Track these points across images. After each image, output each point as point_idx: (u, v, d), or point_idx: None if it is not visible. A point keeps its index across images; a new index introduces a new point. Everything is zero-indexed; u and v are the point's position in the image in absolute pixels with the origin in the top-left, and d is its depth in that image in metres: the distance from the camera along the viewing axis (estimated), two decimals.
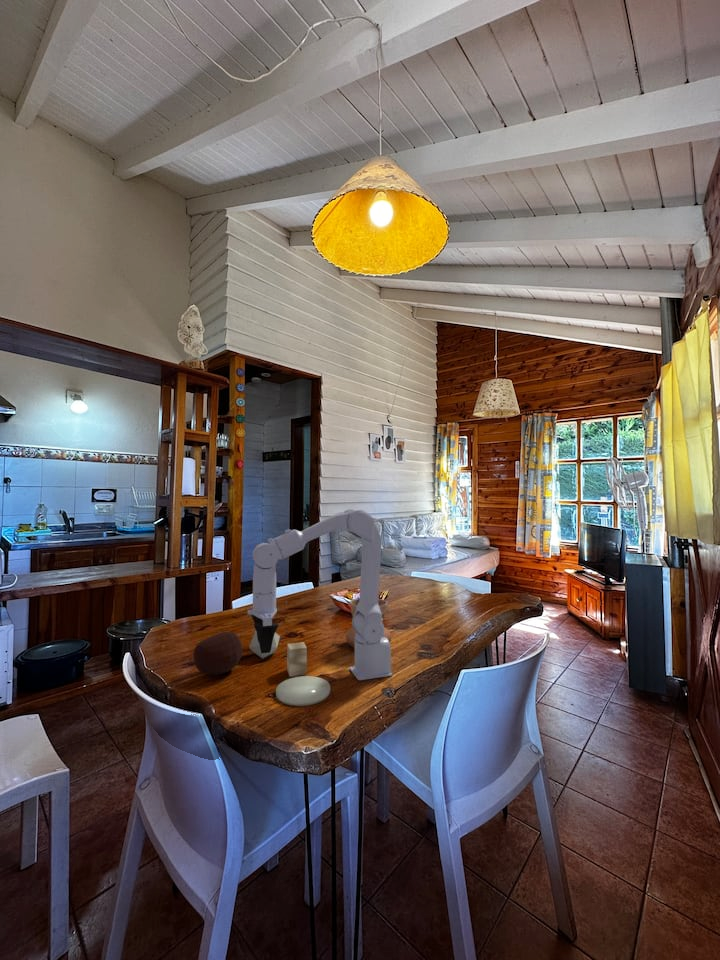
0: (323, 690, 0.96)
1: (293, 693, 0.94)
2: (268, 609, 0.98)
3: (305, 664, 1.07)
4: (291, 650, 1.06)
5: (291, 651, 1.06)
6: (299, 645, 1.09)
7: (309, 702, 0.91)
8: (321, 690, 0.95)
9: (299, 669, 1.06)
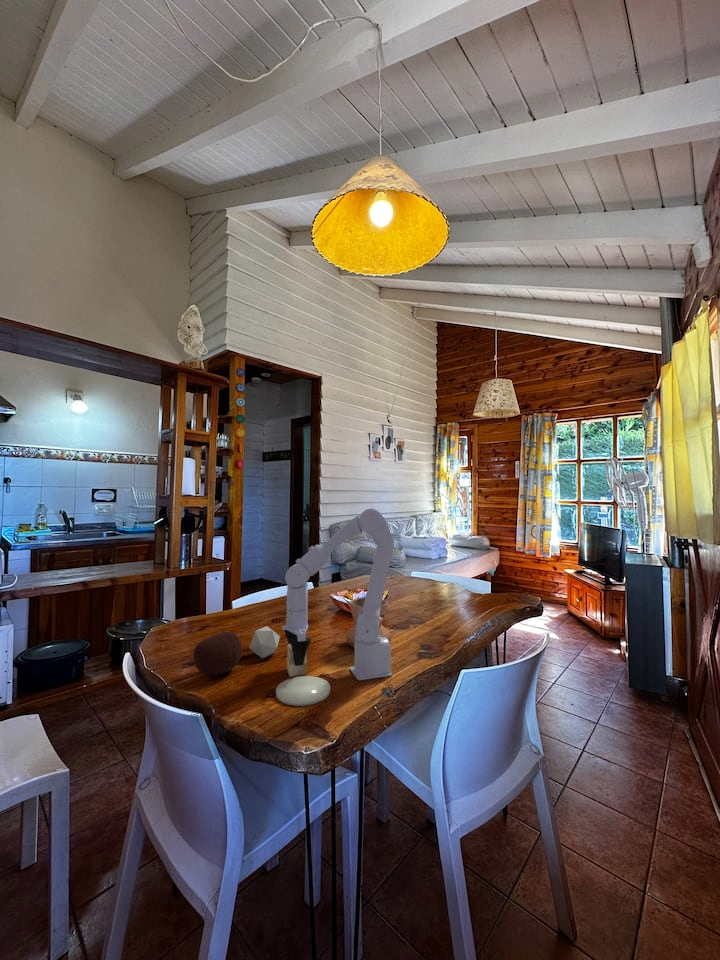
0: (323, 690, 0.96)
1: (293, 693, 0.94)
2: (301, 625, 1.07)
3: (305, 664, 1.07)
4: (291, 650, 1.06)
5: (291, 651, 1.06)
6: None
7: (309, 702, 0.91)
8: (321, 690, 0.95)
9: (299, 669, 1.06)
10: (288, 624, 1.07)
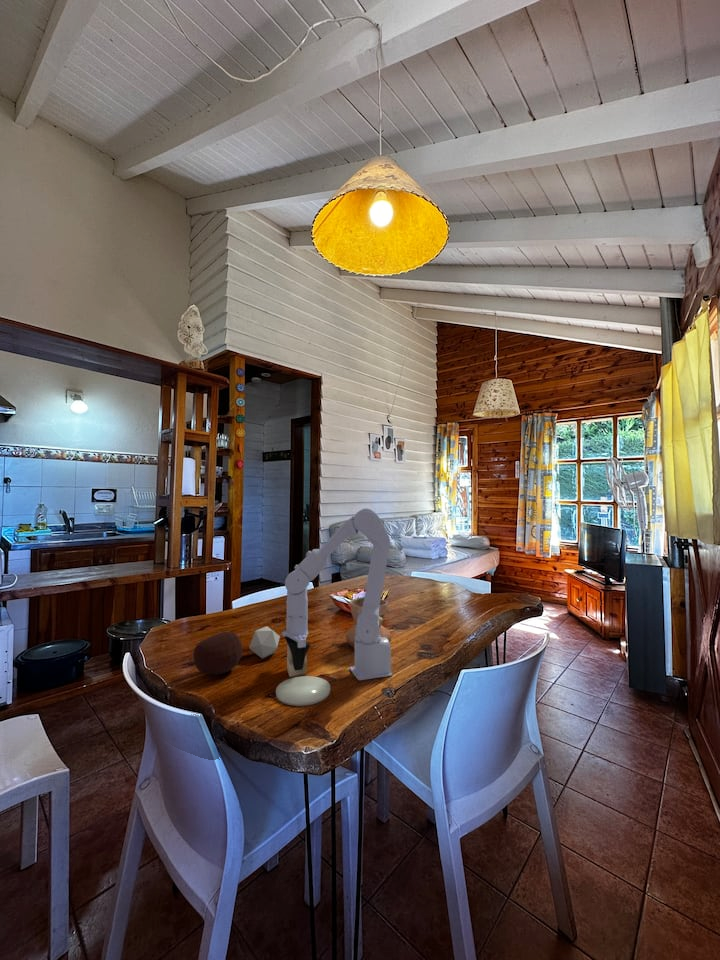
0: (323, 690, 0.96)
1: (293, 693, 0.94)
2: (301, 631, 1.06)
3: (305, 664, 1.07)
4: None
5: None
6: None
7: (309, 702, 0.91)
8: (321, 690, 0.95)
9: None
10: (288, 630, 1.07)
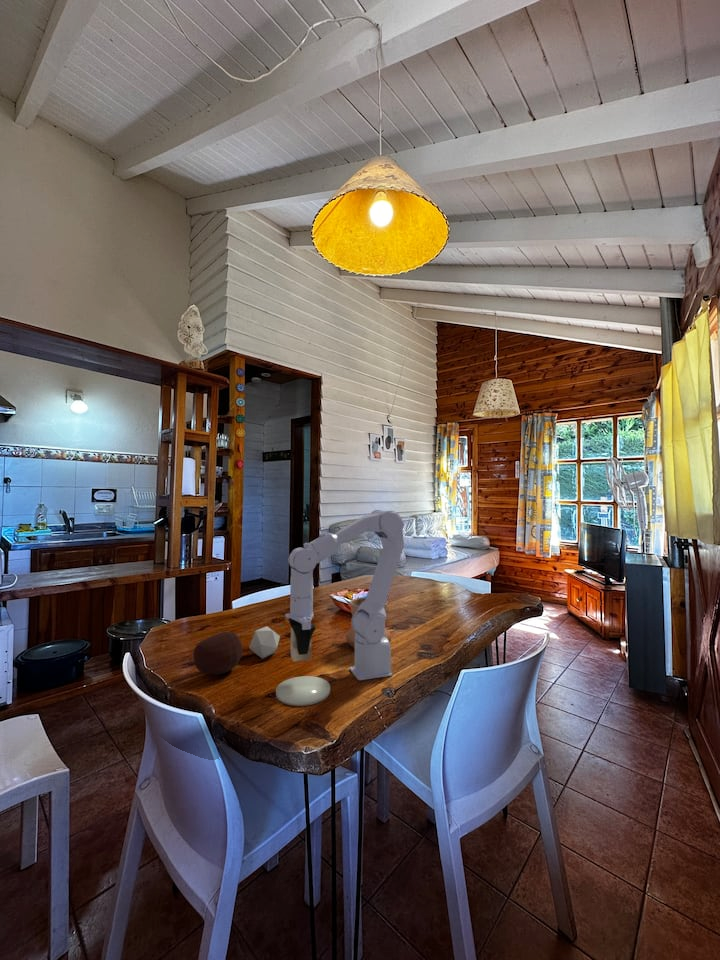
0: (323, 690, 0.96)
1: (293, 693, 0.94)
2: (306, 613, 0.99)
3: (310, 648, 0.99)
4: None
5: None
6: None
7: (309, 702, 0.91)
8: (321, 690, 0.95)
9: (303, 654, 0.99)
10: (292, 612, 0.99)
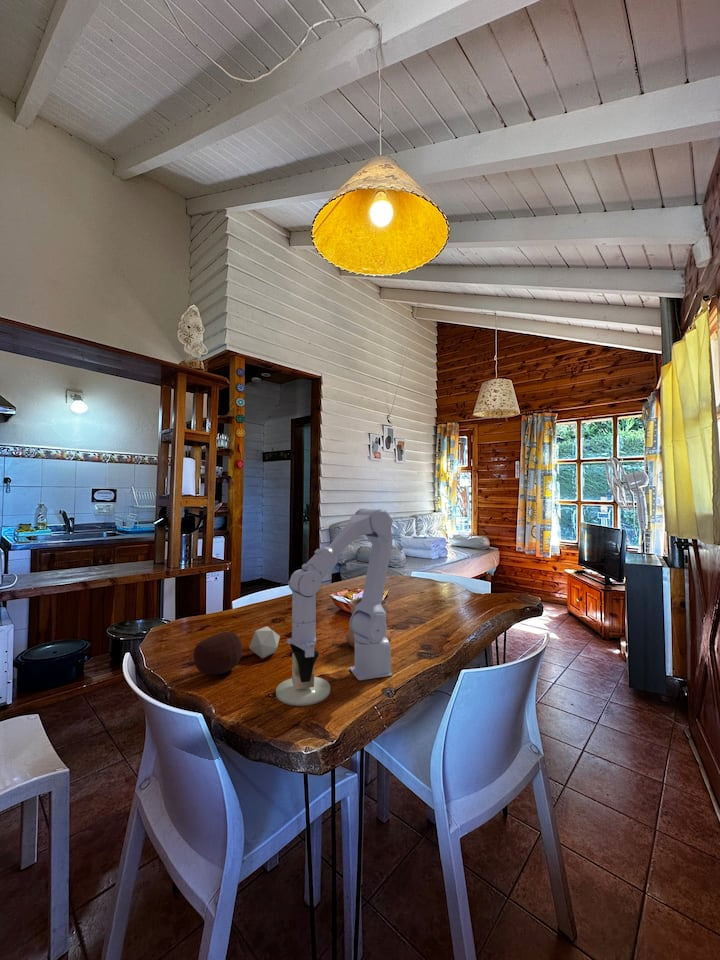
0: (323, 690, 0.96)
1: (293, 693, 0.94)
2: (308, 639, 0.95)
3: (312, 675, 0.95)
4: None
5: None
6: None
7: (309, 702, 0.91)
8: (321, 690, 0.95)
9: None
10: (294, 637, 0.95)
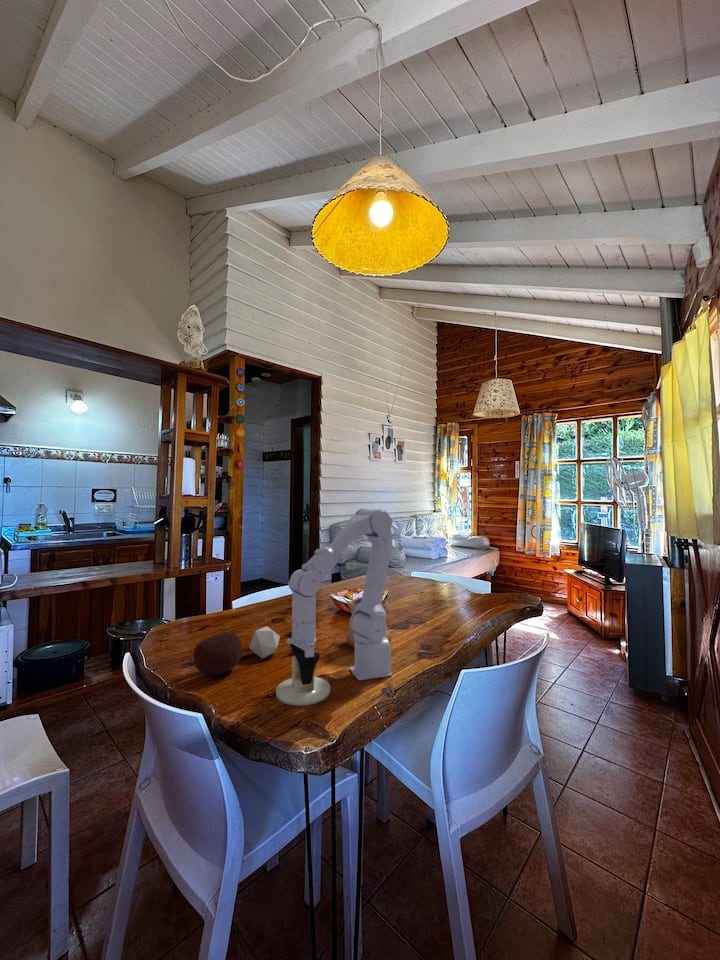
0: (323, 690, 0.96)
1: (293, 693, 0.94)
2: (308, 639, 0.95)
3: (312, 679, 0.95)
4: (297, 664, 0.94)
5: (297, 665, 0.94)
6: None
7: (309, 702, 0.91)
8: (321, 690, 0.95)
9: (305, 685, 0.95)
10: (294, 637, 0.95)
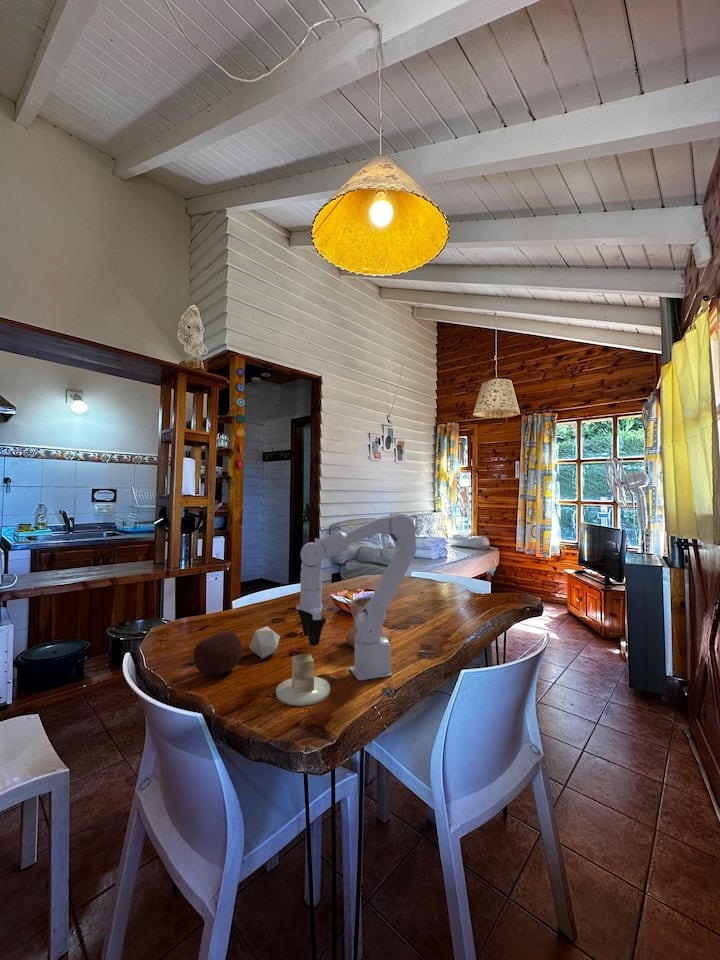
0: (323, 690, 0.96)
1: (293, 693, 0.94)
2: (316, 604, 1.04)
3: (312, 679, 0.95)
4: (297, 664, 0.94)
5: (297, 665, 0.94)
6: (306, 658, 0.97)
7: (309, 702, 0.91)
8: (321, 690, 0.95)
9: (305, 685, 0.95)
10: (302, 603, 1.04)
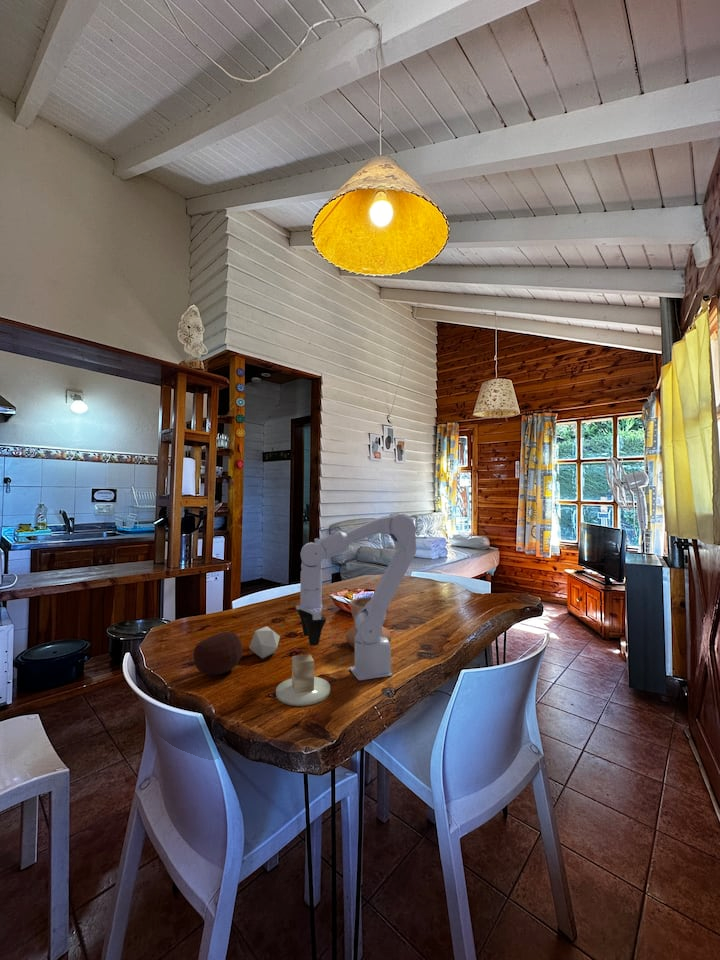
0: (323, 690, 0.96)
1: (293, 693, 0.94)
2: (316, 604, 1.04)
3: (312, 679, 0.95)
4: (297, 664, 0.94)
5: (297, 665, 0.94)
6: (306, 658, 0.97)
7: (309, 702, 0.91)
8: (321, 690, 0.95)
9: (305, 685, 0.95)
10: (302, 603, 1.04)
